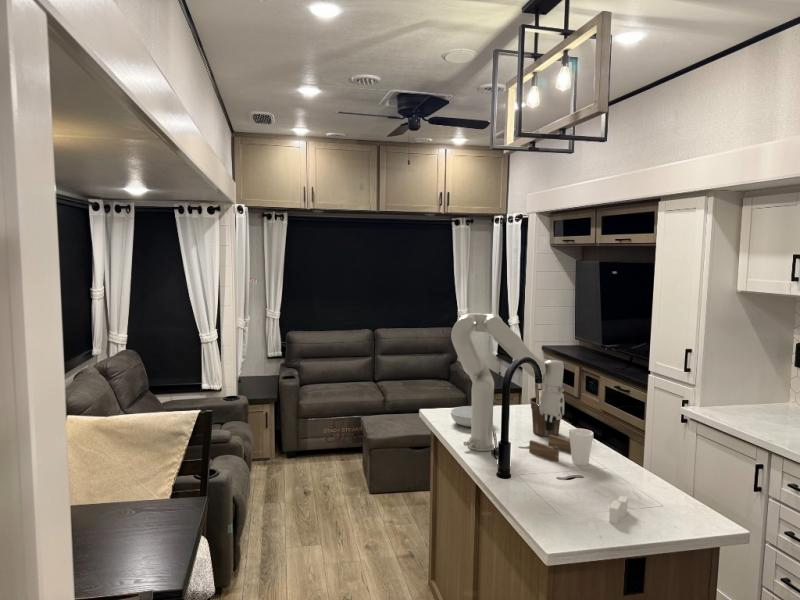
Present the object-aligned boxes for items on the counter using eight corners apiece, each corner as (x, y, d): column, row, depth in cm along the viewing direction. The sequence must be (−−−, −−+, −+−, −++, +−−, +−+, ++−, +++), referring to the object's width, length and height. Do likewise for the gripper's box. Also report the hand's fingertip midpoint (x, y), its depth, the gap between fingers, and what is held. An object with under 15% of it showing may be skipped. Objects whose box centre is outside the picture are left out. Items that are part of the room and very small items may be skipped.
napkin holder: (614, 530, 166) (614, 512, 165) (589, 513, 176) (590, 497, 176) (652, 522, 170) (652, 505, 170) (626, 507, 181) (626, 491, 181)
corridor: (556, 461, 222) (556, 447, 222) (529, 452, 233) (529, 439, 233) (577, 453, 231) (578, 440, 231) (550, 445, 242) (550, 432, 242)
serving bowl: (445, 420, 281) (445, 407, 280) (482, 417, 286) (482, 405, 285) (458, 432, 261) (458, 418, 260) (498, 429, 266) (498, 415, 265)
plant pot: (567, 439, 252) (568, 405, 251) (533, 438, 252) (534, 404, 251) (558, 428, 268) (559, 397, 267) (525, 428, 268) (526, 396, 267)
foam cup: (565, 458, 226) (566, 428, 225) (587, 458, 226) (588, 428, 225) (572, 466, 216) (573, 435, 216) (595, 467, 216) (596, 435, 216)
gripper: (572, 391, 228) (569, 433, 229) (543, 384, 239) (540, 424, 241) (562, 393, 223) (558, 436, 224) (533, 385, 235) (530, 426, 236)
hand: (549, 430), depth 233 cm, fingers closed
